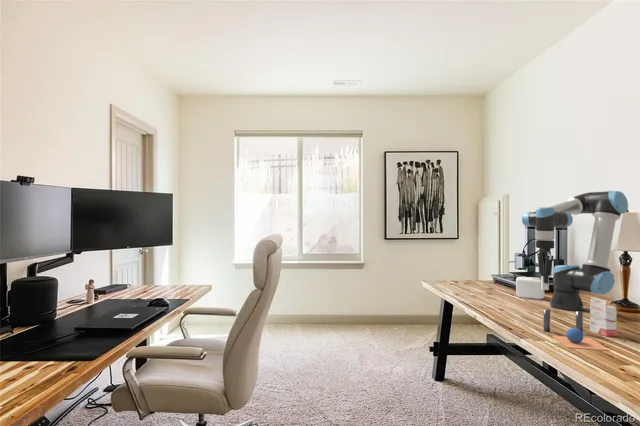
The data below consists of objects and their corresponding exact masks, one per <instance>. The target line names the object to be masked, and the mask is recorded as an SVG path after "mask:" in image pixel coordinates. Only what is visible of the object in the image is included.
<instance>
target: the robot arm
mask: <svg viewBox="0 0 640 426" xmlns="http://www.w3.org/2000/svg"><path fill="white" fill-rule="evenodd" d="M628 210H629V202H628V199H627V196H626V195H625V194H624V192H622V191H619V190H609V191H595V192H594V191H590V192H585V193H581V194H578V195H575V196H572V197H570V198H568V199H566V200H565V201H564V202H561V203H558V204H554V205H551V206H549V207H548V206H546V207H544V206H543V207H540V206H539V207H537V208H536V210H535V211H528V212H524V213H523V214H522V215H521V222H522V225H524V226H525V227H531V228H532V227H534V228H535V233H534V235H535V238H536V240H535V248H537V249H539V251H538V253H537V254H536V255H537V262H538V263H537V264H538V272H539V274H540V277H541V278H540V279H541V289H542V290H544V291H549V290H550V288H549V287H550V284H549V283H550V280H549V278H550V276H552V268H553V261H554V255H552V251H551V249H555V228H561V229H562V228H568V227H570V226H572V224H573V215H575V216H576V215H579V214H592V216H593V217H594V222H593V227H592V233H591V237H590V243H589V249H588V252H587V260H586V261H585V262H584V263H582V266H581V268H580V265H579V264H569V265H568V264H565V265H563V264H560V265H559V264H558V265H555V266H554V268H553V294H552V296H551V299H550V301H549V306H550V307H552V308H554V309H558V310H565V311H574V312H576V311H581V312H582V311H583V310H585V309H584V304H583V300H582V297H581V294H580V292H586V293H592V294H594V295H595V294H597V295H606V294H608V293H610V292H611V291H612V289H613V288H614V285H615V276H614V274H613V273H612V272H611V268H610V267H609V266H608V264H609V259H610V254H611V248H612V243H613V237H614V233H615V232H614V231H615V228H616V221H617V220H619V219H621V214H626V213H627V211H628Z"/></svg>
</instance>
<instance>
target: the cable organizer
mask: <svg viewBox="0 0 640 426" xmlns="http://www.w3.org/2000/svg"><path fill="white" fill-rule="evenodd" d="M515 292H516V293H515V295H516V296H517V297H520V298H521V299H527V298H528V299H533V300H542V299H544V298H545V290H542V289H541V278H540V277H531V276H529V277H527V276H517V277H516V278H515Z"/></svg>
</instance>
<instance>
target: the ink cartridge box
mask: <svg viewBox="0 0 640 426" xmlns="http://www.w3.org/2000/svg"><path fill="white" fill-rule="evenodd" d="M617 329H618V327H617V307H615V306H610V305H607V300H605V299H602V298H598V297H593V296H591V297H590V303H589V331H590V332H592V333H595V334H599V335H601V336H603V337H617V336H618V335H617V333H618V332H617Z"/></svg>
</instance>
